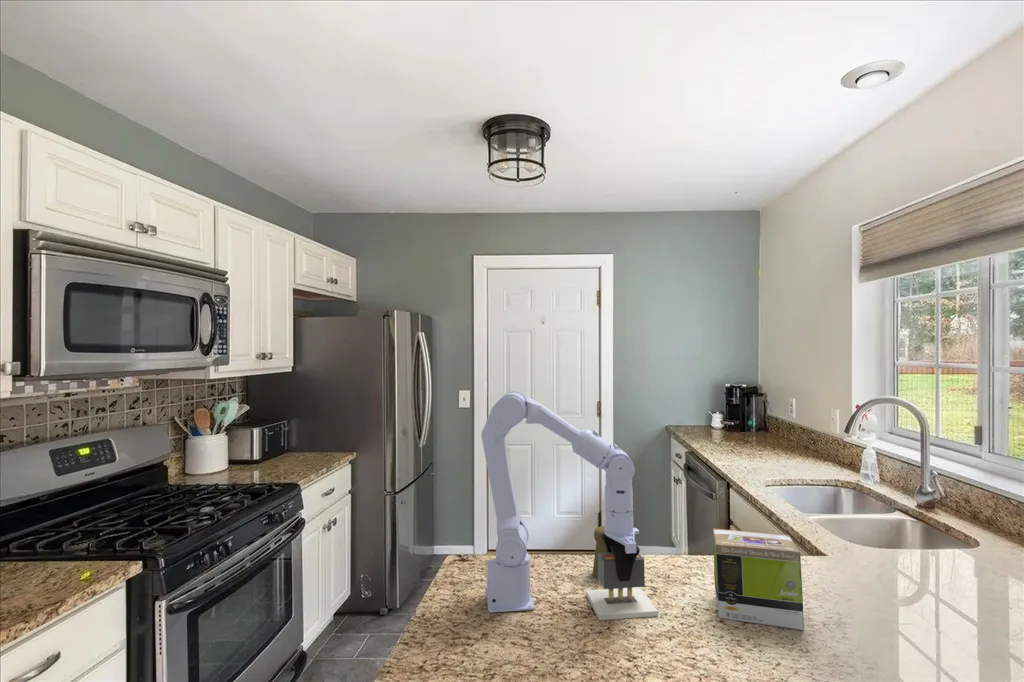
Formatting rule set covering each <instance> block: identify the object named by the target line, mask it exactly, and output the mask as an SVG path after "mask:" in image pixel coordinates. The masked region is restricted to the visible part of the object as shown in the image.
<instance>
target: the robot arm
mask: <svg viewBox="0 0 1024 682" xmlns="http://www.w3.org/2000/svg"><path fill="white" fill-rule="evenodd" d="M525 419H526V420H525ZM523 420H525V424H526V425H529V424H530V425H531V424H532V425H533V424H535V425H536V424H539V425H541V426H543V427H544V428H546V429H548V430H550V431H551V432H552V433H554V434H555V435H558V436H559V437H561V438H562V439H564V440H565V441H567V442H569V443H570V444H571V447H572V452H573V453H575V454H576V455H577V456H579V457H581V458H583V460H585V461H586V462H588V463H589V464H591V465H593V466H594V467H595V468H597V469H601V470H604V472H605V485H604V515H605V516H604V526H605V533H604V534H601V537H602V539H603V541H604V543H605V546H606V549H607V552H613V555H614V558H615V562H616V568H617V574H618V578H619V581H630V577H631V573H632V568H633V564H634V562H635V559H636V557H637V555H638V554H640V552H641V551H640V548H639V546H638V545H637V543H636V541H635V535H640V530H639V529H638V528H637V527H634V494H633V493H634V492H633V490H634V489H633V477H634V475H635V472H636V467H635V466H634V462H633V460H632V459H631V458H630V456H629V454H627V453H626V451H624V450H623V449H622V448H619V445H617V444H616V443H613V444H612V443H610V442H608V441H607V440H605V439H604V438H603V437H601V436H599V435H600V433H599V431H597V430H595V429H592V430H590V429H588V428H585V429H578V428H576V427H575V426H573V425H572V424H570V423H569V422H567V421H566V420H565V419H564V418H562V417H560V416H559V415H558V414H556V413H555V412H553V411H552V410H551V409H550V408H548V407H546V406H545V405H544V404H542V403H540V402H539V401H537V400H535V399H533V398H530V397H528V396H527V397H526V396H525V394H523V393H521V391H520V392H519V391H508V392H506V393H505V394H504V395H503V396H502V397H500V398H499V400H497V402H496V403H495V404H494V405H493V406H492V407H491V409H490V413H489V415H488V417H487V419H486V421H485V424H484V427H483V429H482V431H481V441H482V448H483V452H484V457H485V463H486V468H487V474H488V478H489V485H490V490H491V494H492V499H493V500H492V501H493V506H494V511H495V515H496V534H497V542H496V546H495V555H496V556H495V558H493V559H488V560H486V565H485V566H486V567H485V569H486V573H485V574H486V576H485V577H486V587H485V589H484V590H485V598H486V602H487V612H488V613H490V614H491V613H501V612H502V613H503V612H504V613H506V612H519V611H520V612H521V611H533V610H535V603H534V601H533V597H532V593H531V561H530V560H531V555H530V554H529V553H528V552H527V550H528V549H527V544H528V540H529V530H528V528H527V526H525V524H524V522H523V520H522V515H521V513H520V510H519V507H518V502H517V496H516V491H515V487H514V482H513V480H514V479H513V475H512V471H511V464H510V461H509V455H508V454H509V453H508V450H507V445H506V439H505V438H506V437H507V435H508V434H509V433H510V431H511V430H512V429H513V428H514V427H516V426H517V425H518V424H520V423H521V422H522V421H523Z"/></svg>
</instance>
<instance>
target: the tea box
mask: <svg viewBox="0 0 1024 682" xmlns="http://www.w3.org/2000/svg"><path fill="white" fill-rule="evenodd" d="M712 542H713V543H712V547H713V569H714V571H713V575H714V577H713V578H714V591H715V592H714V593H715V594H714V595H715V598H716V605H717V614H718V618H719V619H725V620H726V619H727V620H732V621H738V622H739V621H740V622H745V623H753V624H760V625H765V626H766V625H767V626H773V627H774V626H775V627H780V628H788V629H793V630H799V631H800V630H801V631H804V630H805V621H804V619H805V618H804V602H803V601H804V600H803V599H804V598H803V579H802V561H801V552H800V551H799V549H798V547H797V545H796V544H795V543H794V541H793V539H792V538H791V536H790V535H789V534H783V533H767V532H757V531H747V530H746V531H745V530H735V529H733V530H732V529H722V528H713V529H712Z"/></svg>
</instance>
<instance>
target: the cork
mask: <svg viewBox="0 0 1024 682" xmlns="http://www.w3.org/2000/svg"><path fill="white" fill-rule="evenodd" d="M604 533H605V525H603V526H601V525H600V526H598V527H596V528H595V529H594V532H593V537H594V538H593V539H594V540H595V551H594V559H593V560H594V561H593V567H592V576H593V578H595V579H597V580H598V553H605V552H607V549H606V546H605V543H604V541H603V539H602V537H601V534H604Z"/></svg>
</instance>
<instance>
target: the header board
mask: <svg viewBox="0 0 1024 682" xmlns="http://www.w3.org/2000/svg"><path fill="white" fill-rule="evenodd" d="M585 592H586V593H585V595H586V597H587V599H588V601H589V604H590V605H591V607H592V608H593V611H594V613H595V615H596V617H597V620H599V621H605V620H609V621H610V620H618V619H619V620H620V619H634V618H637V619H639V618H651V617H653V618H654V617H658V616H659V611H658V609H657V608H656V606H655V605H654V604H653V603H652V601H651V600H650V599H649V597H648V596H647V595H646V593H645V592H644V591H643V589H642V587H632V588H617V589H604V588H602V589H591V590H590V589H588V590H585Z"/></svg>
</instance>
